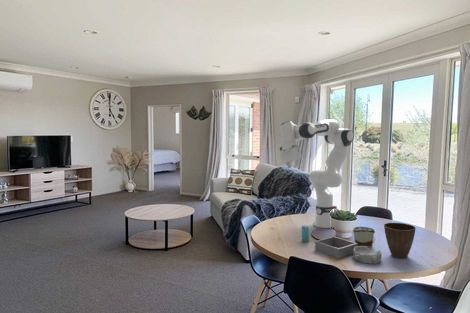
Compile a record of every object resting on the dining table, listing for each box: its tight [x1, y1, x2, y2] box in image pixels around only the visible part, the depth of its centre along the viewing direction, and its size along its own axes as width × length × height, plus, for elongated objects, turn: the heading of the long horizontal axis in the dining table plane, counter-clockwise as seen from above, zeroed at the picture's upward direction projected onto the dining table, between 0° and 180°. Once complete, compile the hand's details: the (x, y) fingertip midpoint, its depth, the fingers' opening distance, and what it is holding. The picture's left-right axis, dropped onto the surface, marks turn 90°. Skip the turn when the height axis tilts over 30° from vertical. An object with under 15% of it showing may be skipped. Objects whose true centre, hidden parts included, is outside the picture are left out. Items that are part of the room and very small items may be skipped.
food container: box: [352, 226, 376, 248], centre depth 192 cm, size 12×6×10 cm, turn 84°
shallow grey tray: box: [314, 235, 358, 260], centre depth 182 cm, size 16×16×5 cm
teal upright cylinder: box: [301, 225, 310, 243], centre depth 200 cm, size 4×4×9 cm
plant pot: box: [383, 222, 417, 259], centre depth 174 cm, size 15×15×16 cm
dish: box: [352, 246, 382, 265], centre depth 170 cm, size 14×14×5 cm
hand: (293, 167), depth 211 cm, fingers open, 8 cm apart
